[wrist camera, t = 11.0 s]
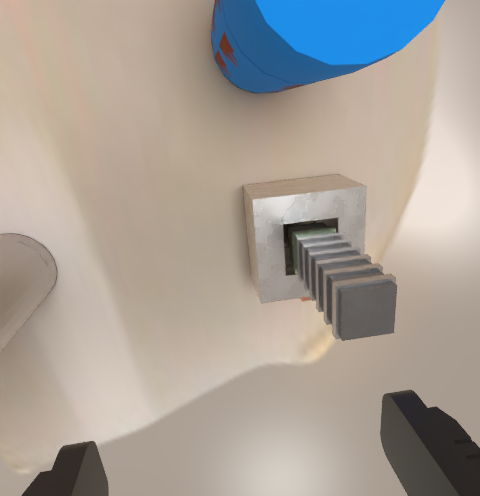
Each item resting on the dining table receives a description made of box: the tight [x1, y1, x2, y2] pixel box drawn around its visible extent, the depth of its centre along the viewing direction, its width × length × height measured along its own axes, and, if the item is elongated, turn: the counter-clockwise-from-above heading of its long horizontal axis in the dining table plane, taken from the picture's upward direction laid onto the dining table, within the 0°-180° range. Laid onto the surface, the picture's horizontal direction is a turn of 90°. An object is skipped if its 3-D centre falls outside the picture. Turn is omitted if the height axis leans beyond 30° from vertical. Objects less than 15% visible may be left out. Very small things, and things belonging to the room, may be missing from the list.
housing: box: [243, 174, 367, 303], centre depth 43 cm, size 13×12×8 cm
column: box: [288, 222, 397, 341], centre depth 34 cm, size 4×4×16 cm
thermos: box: [211, 0, 445, 93], centre depth 27 cm, size 11×11×25 cm
